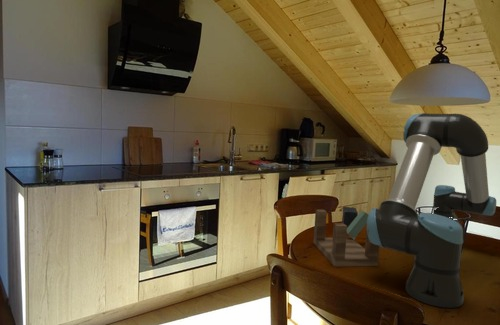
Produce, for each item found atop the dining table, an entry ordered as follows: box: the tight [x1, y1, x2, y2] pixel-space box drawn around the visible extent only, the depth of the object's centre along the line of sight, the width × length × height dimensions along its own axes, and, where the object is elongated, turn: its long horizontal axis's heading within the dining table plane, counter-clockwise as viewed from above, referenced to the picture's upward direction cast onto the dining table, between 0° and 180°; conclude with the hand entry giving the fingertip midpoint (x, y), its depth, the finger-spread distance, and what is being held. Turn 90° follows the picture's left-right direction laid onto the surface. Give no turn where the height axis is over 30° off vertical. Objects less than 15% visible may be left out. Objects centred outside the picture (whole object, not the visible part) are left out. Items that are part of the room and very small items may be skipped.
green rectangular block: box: [347, 210, 369, 241], centre depth 146 cm, size 4×4×12 cm
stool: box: [313, 208, 380, 267], centre depth 135 cm, size 24×16×14 cm, turn 7°
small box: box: [341, 206, 359, 228], centre depth 166 cm, size 11×6×10 cm, turn 168°
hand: (367, 221), depth 147 cm, fingers closed
